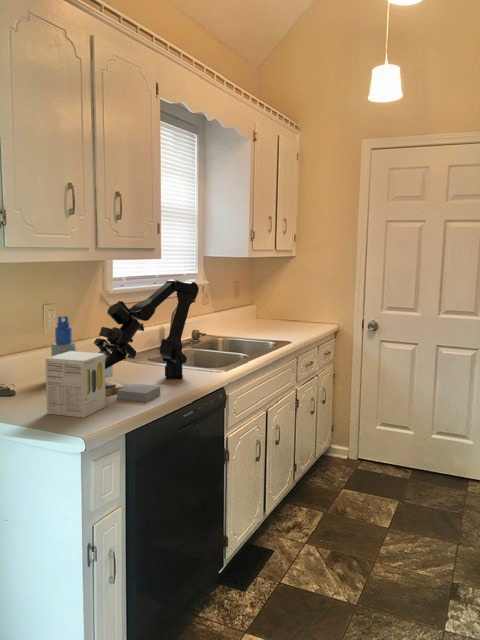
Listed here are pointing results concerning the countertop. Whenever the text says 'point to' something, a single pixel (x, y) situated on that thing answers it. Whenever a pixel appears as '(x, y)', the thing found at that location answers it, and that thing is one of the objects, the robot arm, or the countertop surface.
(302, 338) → the countertop surface
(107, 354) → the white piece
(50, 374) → the supplement box
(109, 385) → the tan wooden board
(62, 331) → the spray bottle
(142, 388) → the block
